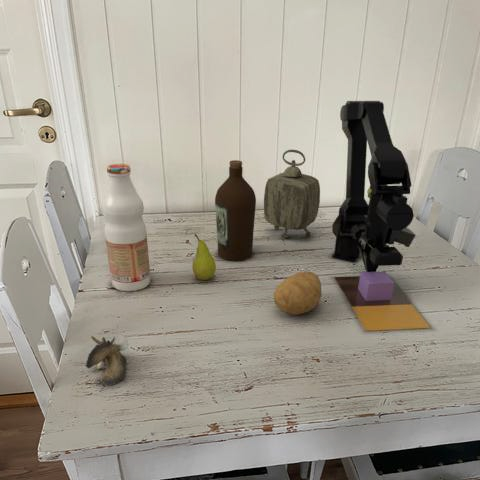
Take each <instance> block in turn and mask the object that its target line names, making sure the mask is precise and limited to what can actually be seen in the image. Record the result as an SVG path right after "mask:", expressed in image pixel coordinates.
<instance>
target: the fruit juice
mask: <svg viewBox="0 0 480 480" xmlns="http://www.w3.org/2000/svg"><path fill="white" fill-rule="evenodd" d="M131 171H132V170H131V166H130V164H127V163H113V164H109V165H107V166H106V173H107V175H108V182H107V187H106V189H105V190H106V191H105V194H104V197H103V199H102V202H101V211H102V214H103V216H104V219H105V223H104V229H103V230H104V240H105V246H106V253H107V254H106V255H107V262H108V269H109V276H110V282H111V285H112V287H113V288H114V289H116V290H118V291H122V292H134V291H135V292H136V291H140V290H143V289H145V288H147V287H148V286H149V285H150V284H151V268H150V267H151V266H150V256H149V255H150V254H149V245H148V232H147V226H146V223H145V221H144V217H143V215H144V209H145V206H144V201H143V200H142V198H141V196H140V195H139V193H138V191H137V189H136V187H135V185H134V183H133V180H132V178H131V176H130V175H131Z"/></svg>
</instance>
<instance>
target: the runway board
mask: <svg viewBox="0 0 480 480" xmlns="http://www.w3.org/2000/svg"><path fill="white" fill-rule="evenodd" d="M359 279H360V275H358V276H357V275H356V276H334V280H335V281H336V283H337V285H338V286H339V289H340V290H341V292H342V293H343V295H344V296H345V298H346V300H347V301H348V303H349V305H350V307H351V308H352V307H356V306H382V305H408V304H412V303H411V301H410V300H409V299H408V298H407V297H406V295H405V294H404V293H403V292H402V290H401V289H400V288H399V286H398V285H397V284H396V283H395V282H394V287H393V292H392V297H391V300H377V301H366V300H365V299H364V297H363V296H362V294H361V293H360V291H359V290H358V286H359Z"/></svg>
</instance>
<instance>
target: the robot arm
mask: <svg viewBox="0 0 480 480" xmlns="http://www.w3.org/2000/svg"><path fill="white" fill-rule="evenodd" d="M384 111H385V104H384V102H382V101H380V100H347V101H346V102H345V104H343V105H342V106H341V107H340V112H339V118H340V121H341V130H342V131H343V133H344V135H345V137H346V139H347V156H346V157H347V158H346V181H345V182H346V183H345V184H346V185H345V186H346V187H345V199H344V201H343V202H342V204H341V205H340V207H339V209H338V215H337V216H336V218H335V220H334V221H333V223H332V229H331V230H332V234H333V235H334V236H335V245H334V252H333V253H332V254H331V258H334V259H338V260H343V261H348V262H352V263H355V262H356V261H357V260H358V259H359V258H360V257H361V260H362V263H363V268H364V270H365V272H377V270H378V268H379V267H382V266H383V267H387V266H401V265H402V264H403V261H404V255H403V254H402V253H401V252H400V251H399V250H398V248H396V247H395V246H390V245H395V243H397V244H399V245H403V246H404V247H405V248H410V246H411V245H412V243H413V241H414V239H415V237H416V233H414V232H413V231H412V230H411V229H410V228H408V227H409V226H410V225H411V223H412V222H413V220H414V216H415V215H414V210H413V208H412V207H411V206H410V204H408V197H407V196H406V195H410V194H411V187H412V185H413V184H412V180H411V175H410V170H409V169H410V168H409V164H408V162H407V160H406V158H405V155H404V154H403V152H402V151H401V150H400V149H399V148H397V147H396V146H395V145H394V143H393V141H392V137H391V134H390V129H389V127H388V123H387V119H386V117H385V113H384ZM367 149H369V152H370V156H371V158H370V161H369V163H368V166H367V153H368V151H367ZM366 168H367V169H366ZM366 170H367V172H366ZM366 173H367V177H368V182H369V188H370V189H371V194H370V198H369V201H368V203H367V201H366V198H365V193H366V192H365V191H366Z"/></svg>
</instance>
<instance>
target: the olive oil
mask: <svg viewBox="0 0 480 480" xmlns="http://www.w3.org/2000/svg"><path fill="white" fill-rule="evenodd" d="M256 205H257V197H256V193H255V191H254V188H253V187H252V186H251V184H249V182H247V181H246V180H245V178H244V176H243V161H242V160H238V159H234V160H230V161H229V167H228V177H227V179H226V180H224V182H223V183H222V184H221V185H220V186H219V187H218V189H217V191H216V194H215V197H214V208H215V221H216V222H215V224H216V237H217V238H216V241H217V255H218V258H219V257H220V259H222V260H224V261H225V260H226V261H228V262H242V261H245V260H248V259H250V258H251V257H252V256H253V246H254V244H253V243H254V229H255V220H256V219H255V217H256Z"/></svg>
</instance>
